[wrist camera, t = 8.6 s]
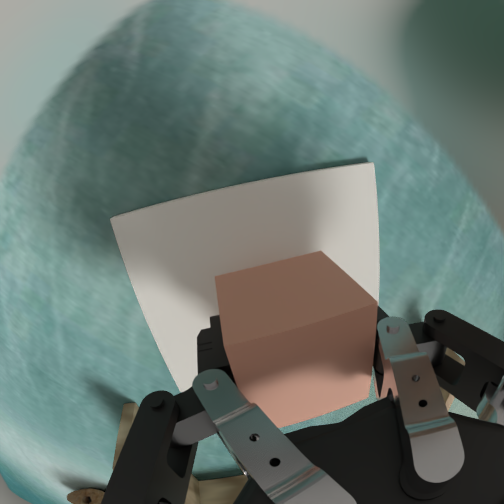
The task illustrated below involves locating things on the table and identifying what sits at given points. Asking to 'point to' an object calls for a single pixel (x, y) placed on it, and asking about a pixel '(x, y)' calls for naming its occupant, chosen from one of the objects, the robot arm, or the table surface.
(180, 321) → the grey mat
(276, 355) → the terracotta block
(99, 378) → the table surface
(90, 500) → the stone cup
